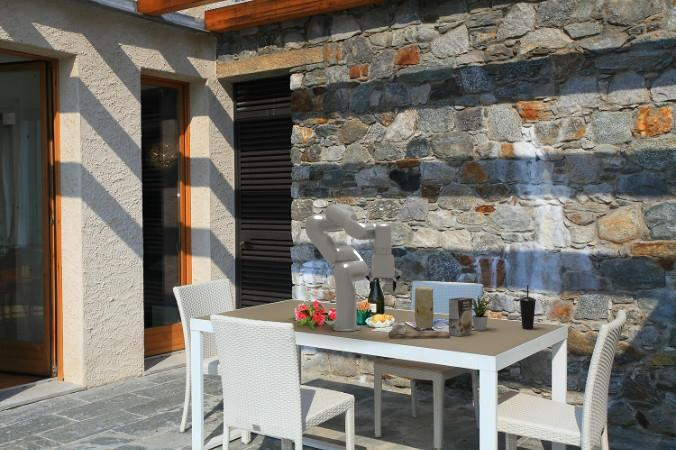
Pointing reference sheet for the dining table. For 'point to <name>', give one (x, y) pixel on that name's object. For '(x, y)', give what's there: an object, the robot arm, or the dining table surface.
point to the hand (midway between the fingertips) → (382, 290)
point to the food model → (424, 307)
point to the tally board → (420, 335)
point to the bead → (398, 328)
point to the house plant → (480, 314)
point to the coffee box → (460, 316)
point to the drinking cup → (527, 311)
